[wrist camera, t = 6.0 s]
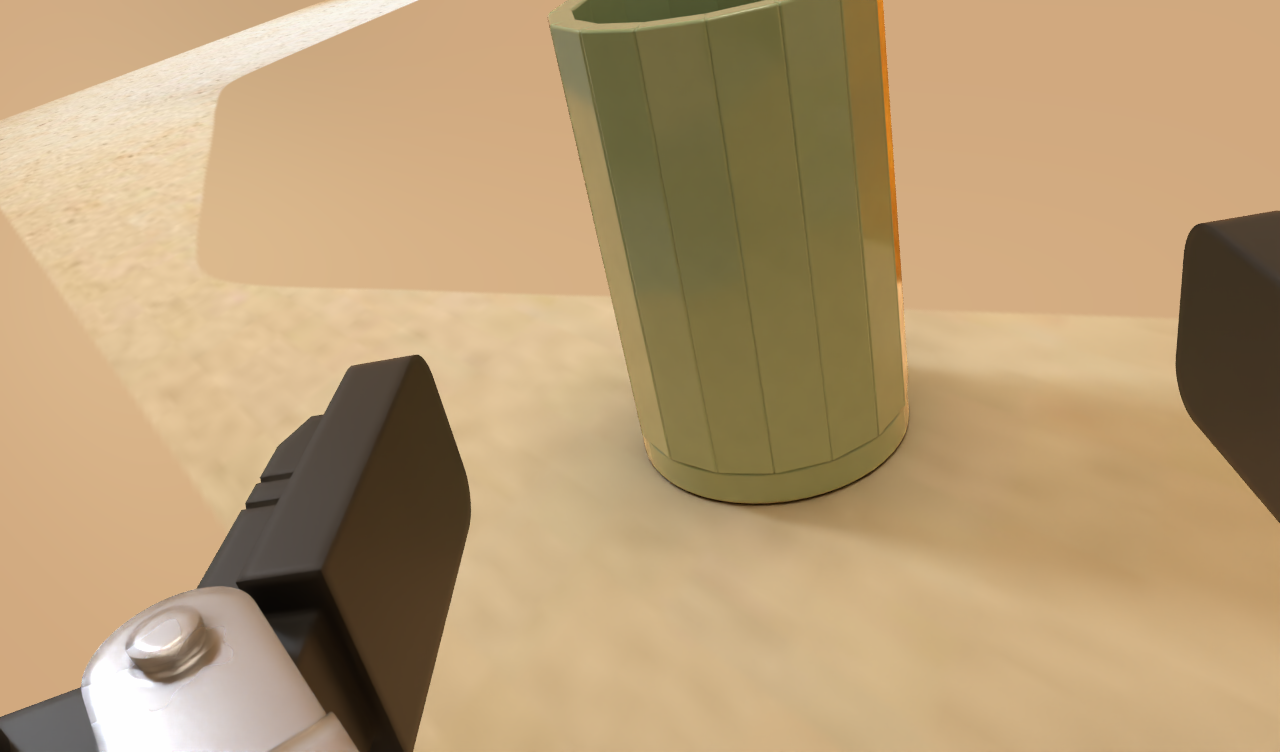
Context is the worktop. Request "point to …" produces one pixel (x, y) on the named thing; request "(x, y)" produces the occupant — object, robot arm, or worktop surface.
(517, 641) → the worktop surface
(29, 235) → the worktop surface
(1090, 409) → the worktop surface
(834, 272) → the cup
